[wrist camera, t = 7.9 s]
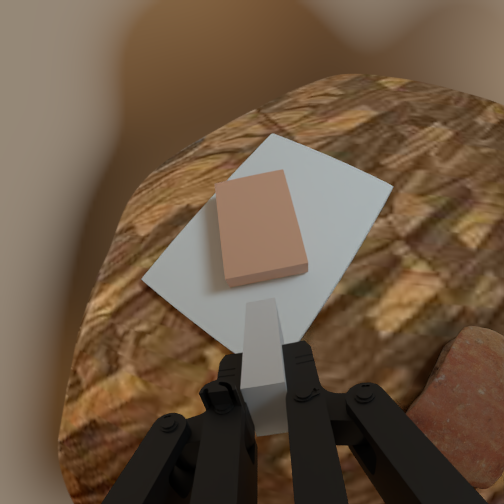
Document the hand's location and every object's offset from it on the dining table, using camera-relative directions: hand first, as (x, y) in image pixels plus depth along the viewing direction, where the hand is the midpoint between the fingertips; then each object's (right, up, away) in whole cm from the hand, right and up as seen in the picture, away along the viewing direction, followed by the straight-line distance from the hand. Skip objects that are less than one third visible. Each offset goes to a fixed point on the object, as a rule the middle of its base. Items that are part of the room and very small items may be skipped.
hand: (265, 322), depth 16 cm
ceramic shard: (+21, -12, +7) cm, 25 cm away
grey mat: (+2, +6, +19) cm, 20 cm away
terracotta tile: (+1, +1, +14) cm, 15 cm away
